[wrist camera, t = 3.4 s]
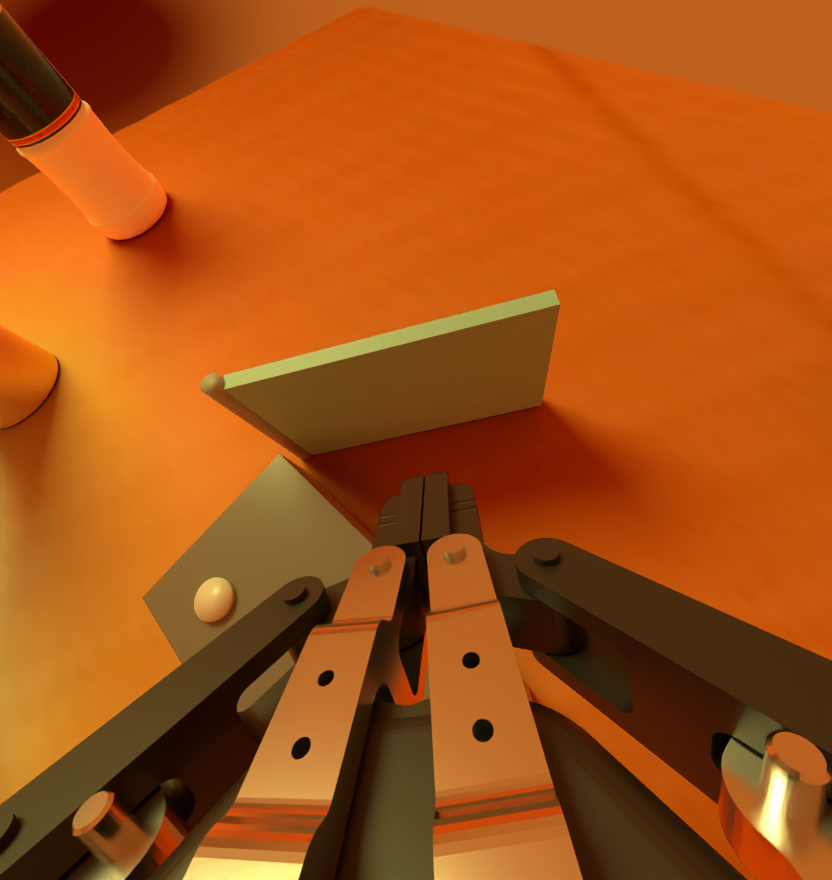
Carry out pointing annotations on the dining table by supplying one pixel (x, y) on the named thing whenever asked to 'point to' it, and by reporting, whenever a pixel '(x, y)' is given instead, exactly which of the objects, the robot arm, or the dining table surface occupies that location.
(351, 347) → the door
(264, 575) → the box with round knob
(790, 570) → the dining table surface
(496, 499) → the dining table surface
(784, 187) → the dining table surface
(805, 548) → the dining table surface
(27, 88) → the vodka
